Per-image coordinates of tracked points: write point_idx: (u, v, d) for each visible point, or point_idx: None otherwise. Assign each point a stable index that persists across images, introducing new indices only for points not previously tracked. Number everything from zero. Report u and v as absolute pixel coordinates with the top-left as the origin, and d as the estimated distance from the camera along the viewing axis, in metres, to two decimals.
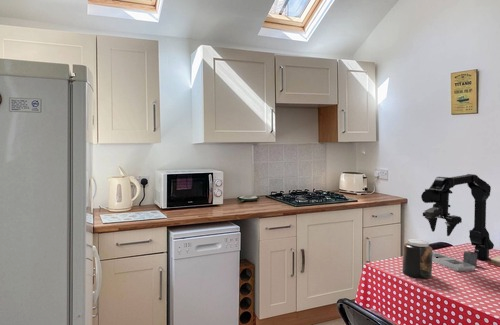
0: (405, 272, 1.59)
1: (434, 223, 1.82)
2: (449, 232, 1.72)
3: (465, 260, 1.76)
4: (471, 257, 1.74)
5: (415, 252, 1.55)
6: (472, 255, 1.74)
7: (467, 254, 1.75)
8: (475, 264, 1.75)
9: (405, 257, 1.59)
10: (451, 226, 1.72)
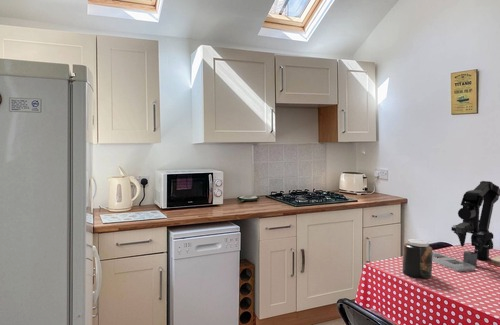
0: (405, 272, 1.59)
1: (463, 238, 1.81)
2: (480, 248, 1.71)
3: (465, 260, 1.76)
4: (471, 257, 1.74)
5: (415, 252, 1.55)
6: (472, 255, 1.74)
7: (467, 254, 1.75)
8: (475, 264, 1.75)
9: (405, 257, 1.59)
10: (482, 242, 1.71)
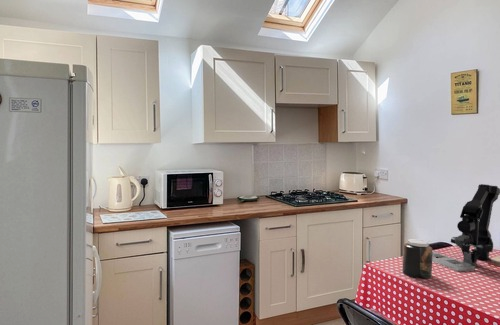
0: (405, 272, 1.59)
1: None
2: (475, 259, 1.73)
3: (465, 259, 1.76)
4: (471, 257, 1.74)
5: (415, 252, 1.55)
6: (472, 255, 1.74)
7: (467, 254, 1.75)
8: (475, 264, 1.75)
9: (405, 257, 1.59)
10: (477, 253, 1.73)
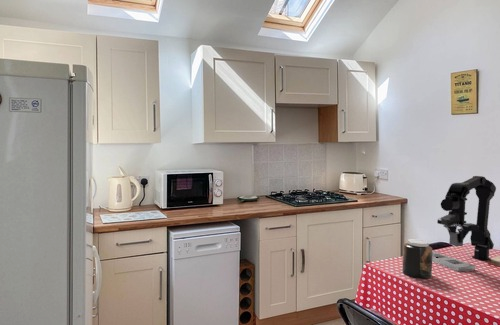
0: (405, 272, 1.59)
1: None
2: (461, 239, 1.70)
3: (451, 240, 1.73)
4: (458, 237, 1.70)
5: (415, 252, 1.55)
6: (458, 235, 1.71)
7: (453, 234, 1.72)
8: (461, 244, 1.71)
9: (405, 257, 1.59)
10: (463, 233, 1.70)
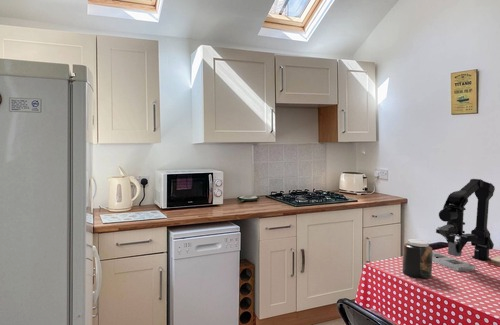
0: (405, 272, 1.59)
1: None
2: (460, 249, 1.70)
3: (450, 250, 1.73)
4: (456, 247, 1.71)
5: (415, 252, 1.55)
6: None
7: (452, 244, 1.72)
8: (460, 254, 1.72)
9: (405, 257, 1.59)
10: (462, 243, 1.70)
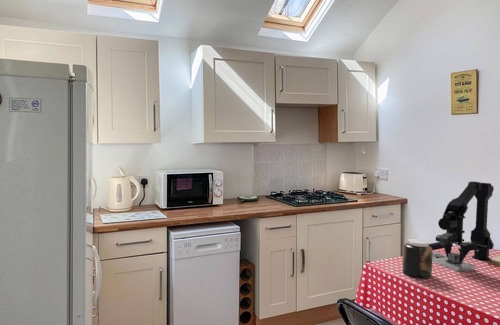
0: (405, 272, 1.59)
1: (449, 249, 1.77)
2: (462, 258, 1.69)
3: (449, 261, 1.73)
4: (456, 258, 1.71)
5: (415, 252, 1.55)
6: (456, 256, 1.71)
7: (451, 255, 1.72)
8: None
9: (405, 257, 1.59)
10: (464, 252, 1.69)
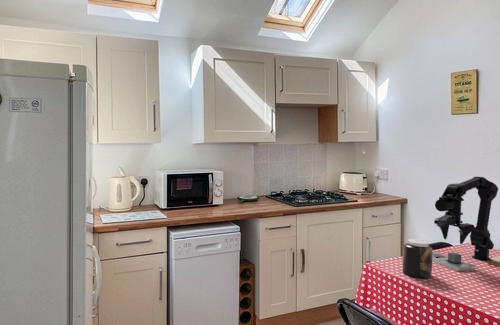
0: (405, 272, 1.59)
1: (446, 231, 1.81)
2: (462, 240, 1.72)
3: (449, 261, 1.73)
4: (456, 258, 1.71)
5: (415, 252, 1.55)
6: (456, 256, 1.71)
7: (451, 255, 1.72)
8: None
9: (405, 257, 1.59)
10: (464, 234, 1.71)
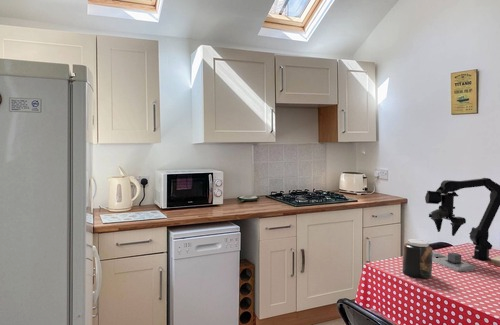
0: (405, 272, 1.59)
1: (440, 224, 1.93)
2: (454, 232, 1.84)
3: (449, 261, 1.73)
4: (456, 258, 1.71)
5: (415, 252, 1.55)
6: (456, 256, 1.71)
7: (451, 255, 1.72)
8: None
9: (405, 257, 1.59)
10: (456, 227, 1.83)
